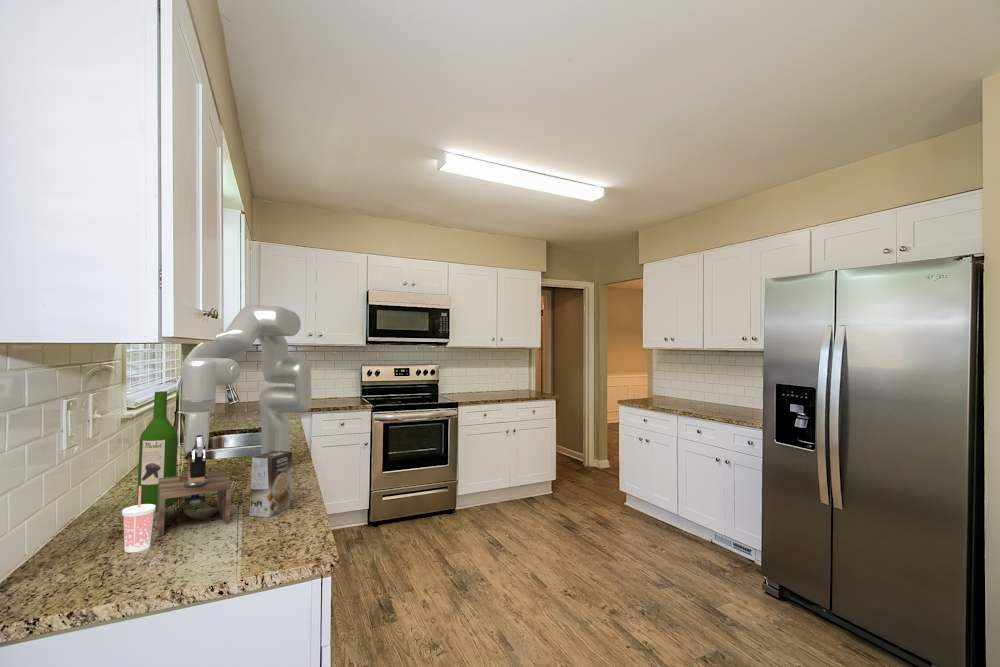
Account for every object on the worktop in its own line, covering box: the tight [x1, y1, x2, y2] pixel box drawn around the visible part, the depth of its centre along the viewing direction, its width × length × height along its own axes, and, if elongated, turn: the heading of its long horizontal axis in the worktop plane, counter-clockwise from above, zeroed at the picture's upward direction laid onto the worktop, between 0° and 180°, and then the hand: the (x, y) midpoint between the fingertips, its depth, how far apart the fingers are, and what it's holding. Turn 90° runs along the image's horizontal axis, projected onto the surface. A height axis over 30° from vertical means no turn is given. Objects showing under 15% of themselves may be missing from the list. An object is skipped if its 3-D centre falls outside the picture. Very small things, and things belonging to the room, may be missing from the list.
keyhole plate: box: [156, 470, 232, 537], centre depth 125 cm, size 17×15×10 cm
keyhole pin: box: [183, 456, 207, 506], centre depth 123 cm, size 5×5×12 cm
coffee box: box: [248, 450, 293, 519], centre depth 133 cm, size 9×6×16 cm
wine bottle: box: [136, 391, 179, 511], centre depth 137 cm, size 9×9×32 cm
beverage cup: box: [121, 486, 156, 553], centre depth 107 cm, size 6×6×14 cm
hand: (195, 473), depth 123 cm, fingers open, 9 cm apart
